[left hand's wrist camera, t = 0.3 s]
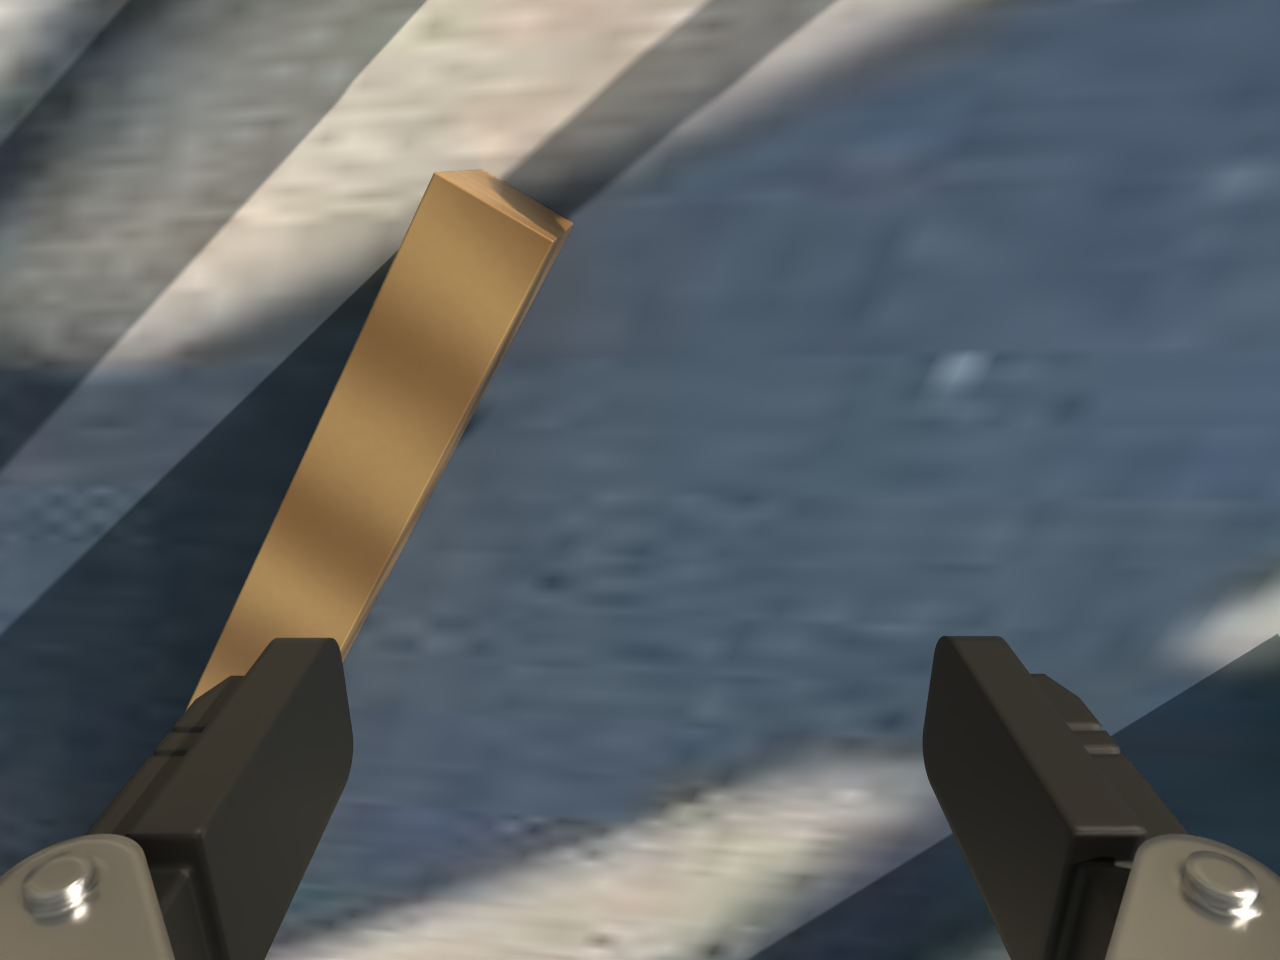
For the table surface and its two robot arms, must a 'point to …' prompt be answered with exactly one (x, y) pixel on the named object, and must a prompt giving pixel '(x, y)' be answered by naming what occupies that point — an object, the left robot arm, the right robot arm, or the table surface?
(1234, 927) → the left robot arm
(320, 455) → the post
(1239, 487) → the table surface
